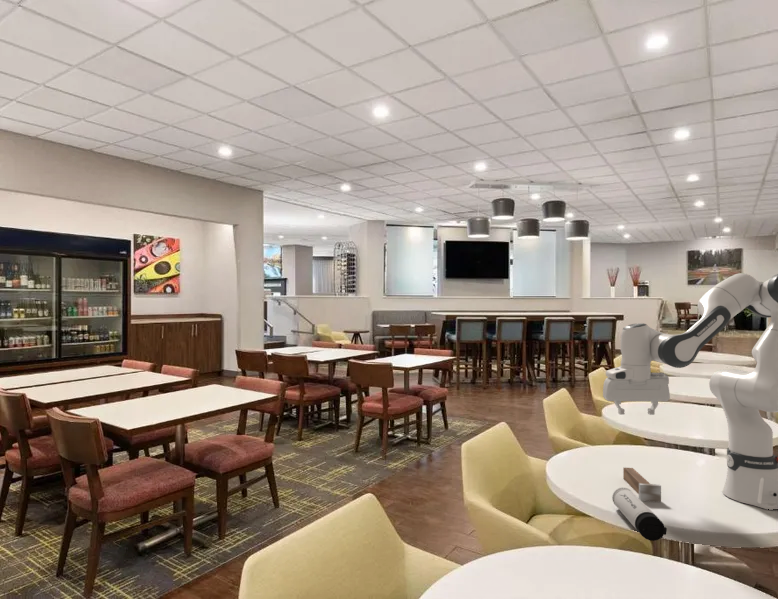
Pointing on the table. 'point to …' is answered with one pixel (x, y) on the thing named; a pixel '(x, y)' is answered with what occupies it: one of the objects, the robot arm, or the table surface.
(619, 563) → the table surface
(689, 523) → the table surface
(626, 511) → the travel mug
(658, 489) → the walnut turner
